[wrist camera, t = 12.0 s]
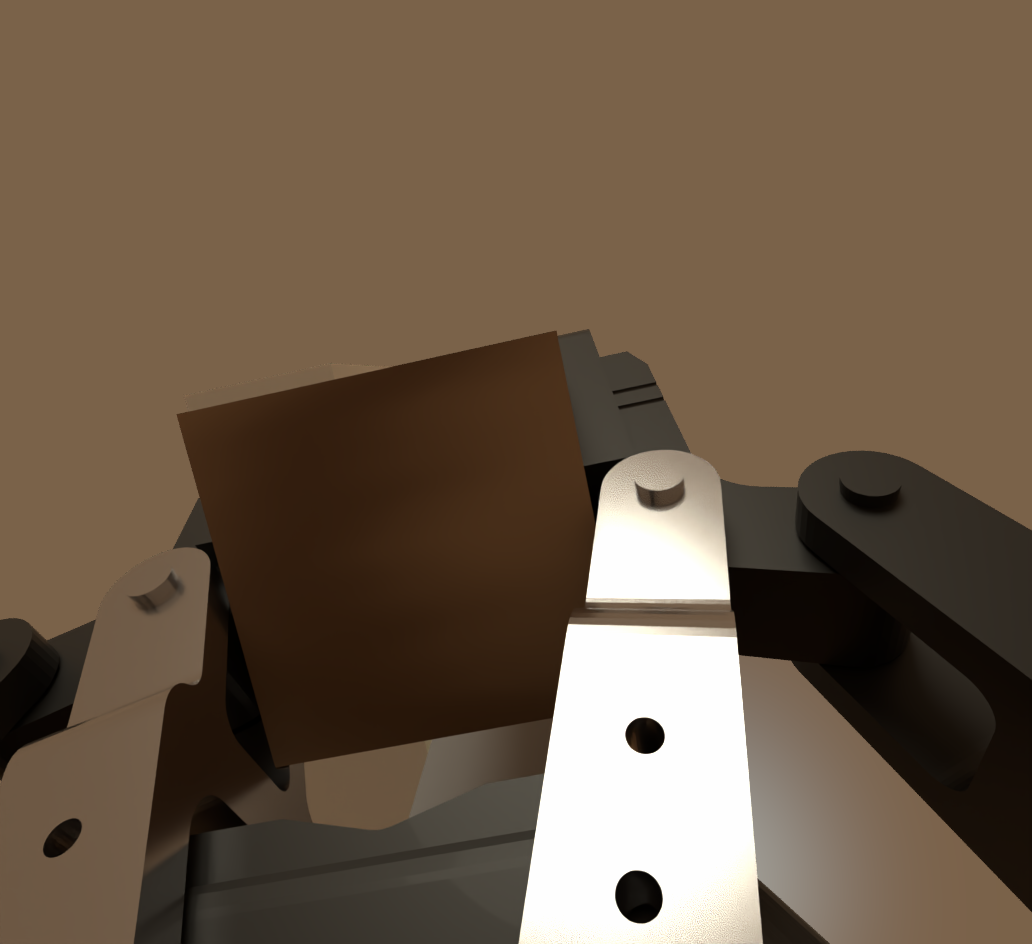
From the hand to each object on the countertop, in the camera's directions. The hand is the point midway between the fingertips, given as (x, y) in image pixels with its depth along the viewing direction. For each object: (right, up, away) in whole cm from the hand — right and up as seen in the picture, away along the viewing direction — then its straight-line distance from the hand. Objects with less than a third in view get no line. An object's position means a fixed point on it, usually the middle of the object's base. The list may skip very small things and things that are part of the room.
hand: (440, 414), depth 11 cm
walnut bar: (+1, -2, +7) cm, 7 cm away
